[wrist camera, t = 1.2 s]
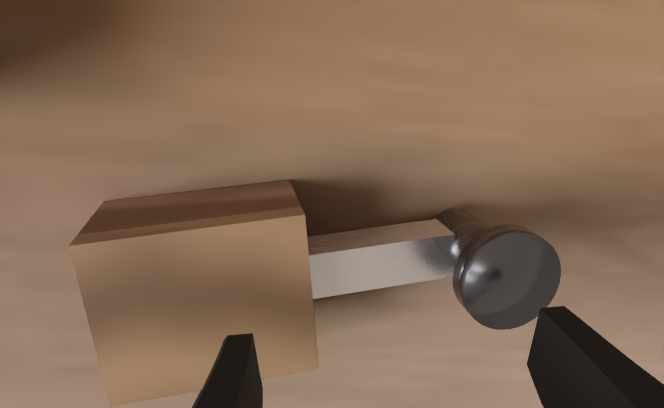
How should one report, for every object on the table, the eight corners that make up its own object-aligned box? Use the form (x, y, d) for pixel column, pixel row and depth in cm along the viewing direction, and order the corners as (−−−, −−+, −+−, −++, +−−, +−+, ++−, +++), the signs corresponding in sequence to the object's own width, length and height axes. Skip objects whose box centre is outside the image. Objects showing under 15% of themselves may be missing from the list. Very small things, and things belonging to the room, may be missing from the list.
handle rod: (488, 263, 25) (556, 320, 20) (124, 321, 22) (92, 405, 17) (491, 187, 24) (565, 227, 18) (104, 238, 21) (63, 302, 15)
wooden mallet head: (301, 306, 25) (318, 368, 20) (133, 334, 23) (110, 406, 19) (289, 179, 22) (305, 214, 18) (103, 201, 21) (68, 245, 16)
